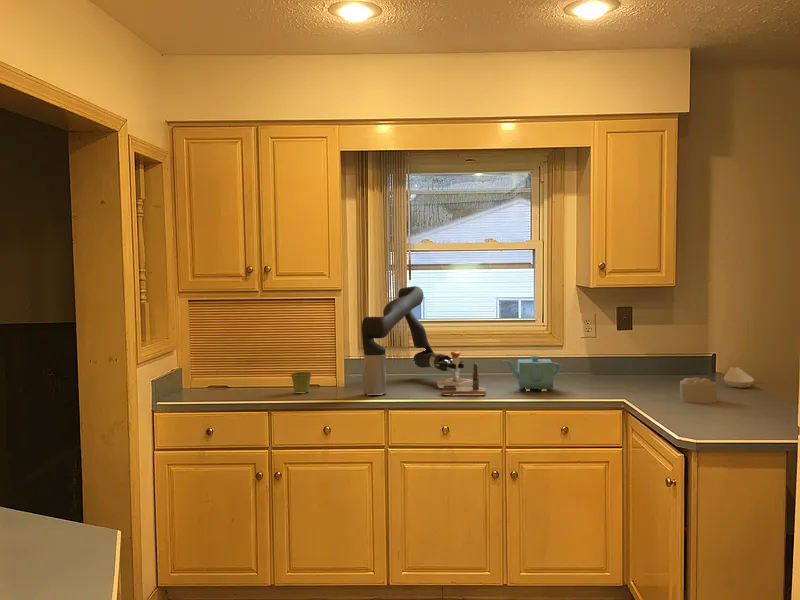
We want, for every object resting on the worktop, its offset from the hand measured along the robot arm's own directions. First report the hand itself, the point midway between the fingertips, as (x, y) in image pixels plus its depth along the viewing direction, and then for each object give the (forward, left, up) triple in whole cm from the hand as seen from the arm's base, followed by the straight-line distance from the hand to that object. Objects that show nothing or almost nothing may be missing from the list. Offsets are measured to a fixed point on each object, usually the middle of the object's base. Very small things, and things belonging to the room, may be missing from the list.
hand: (459, 366), depth 318 cm
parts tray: (+1, +2, -10) cm, 10 cm away
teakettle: (+13, -30, -10) cm, 34 cm away
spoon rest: (+72, -96, -10) cm, 121 cm away
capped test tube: (+1, +3, -7) cm, 8 cm away
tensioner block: (-11, -10, -10) cm, 18 cm away
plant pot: (-48, +50, -10) cm, 70 cm away
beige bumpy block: (+25, -95, -10) cm, 99 cm away
